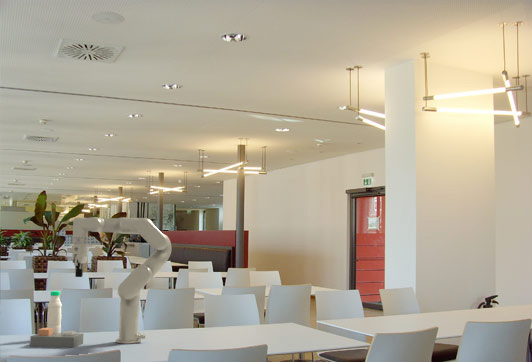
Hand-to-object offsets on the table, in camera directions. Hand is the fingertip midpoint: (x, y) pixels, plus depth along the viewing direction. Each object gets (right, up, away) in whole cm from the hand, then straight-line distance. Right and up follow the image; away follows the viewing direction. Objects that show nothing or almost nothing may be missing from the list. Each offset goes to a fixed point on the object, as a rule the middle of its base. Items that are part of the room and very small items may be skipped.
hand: (78, 276), depth 316 cm
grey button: (-1, -31, -13) cm, 33 cm away
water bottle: (-15, -34, +4) cm, 37 cm away
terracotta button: (-13, -29, -12) cm, 34 cm away
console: (-7, -32, -12) cm, 35 cm away
